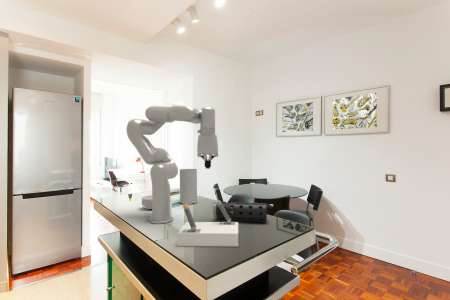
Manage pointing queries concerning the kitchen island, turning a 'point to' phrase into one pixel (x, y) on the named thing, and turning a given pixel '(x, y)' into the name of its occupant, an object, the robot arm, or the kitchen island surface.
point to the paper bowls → (147, 202)
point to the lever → (224, 211)
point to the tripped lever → (189, 217)
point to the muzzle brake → (242, 211)
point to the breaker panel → (209, 234)
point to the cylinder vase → (188, 186)
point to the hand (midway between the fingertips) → (207, 168)
